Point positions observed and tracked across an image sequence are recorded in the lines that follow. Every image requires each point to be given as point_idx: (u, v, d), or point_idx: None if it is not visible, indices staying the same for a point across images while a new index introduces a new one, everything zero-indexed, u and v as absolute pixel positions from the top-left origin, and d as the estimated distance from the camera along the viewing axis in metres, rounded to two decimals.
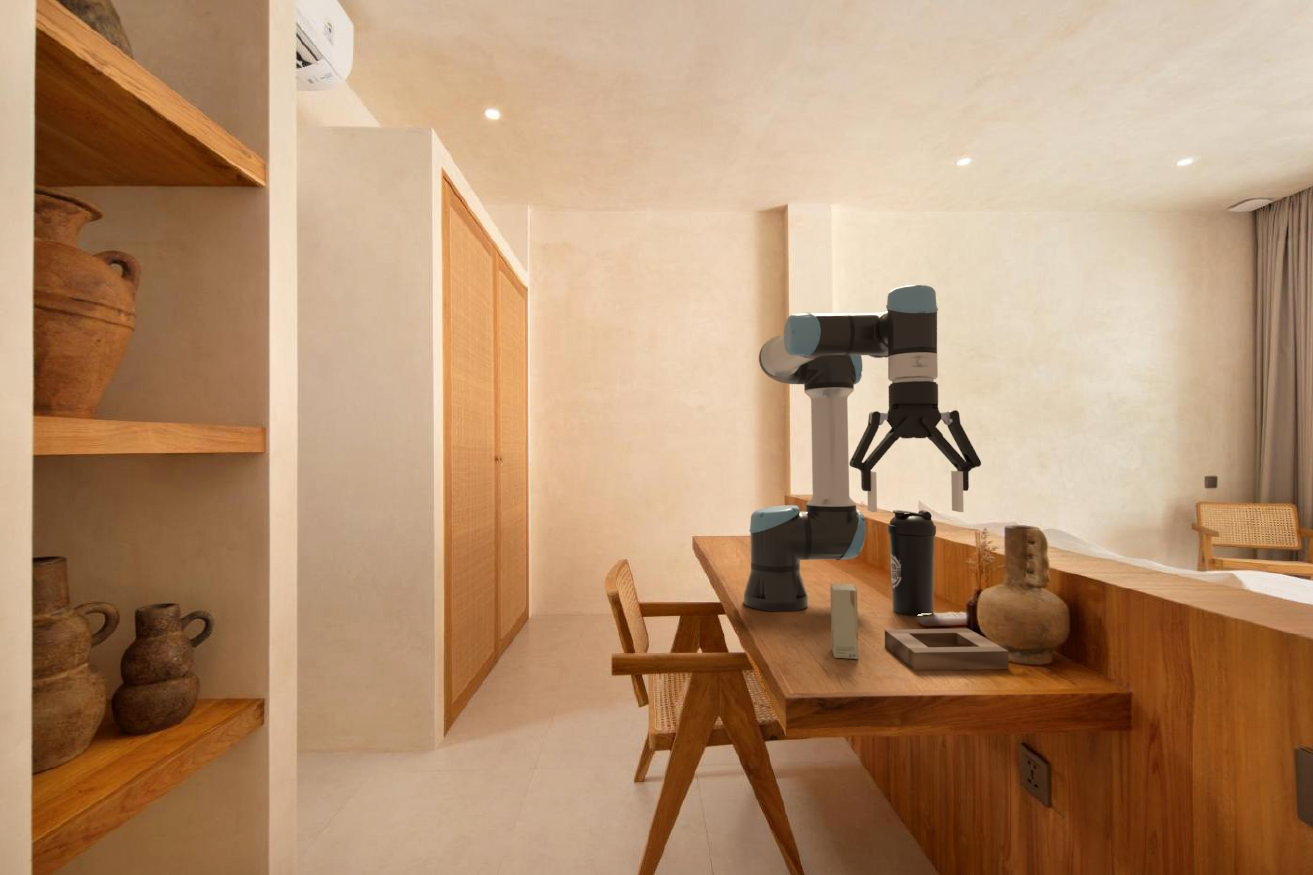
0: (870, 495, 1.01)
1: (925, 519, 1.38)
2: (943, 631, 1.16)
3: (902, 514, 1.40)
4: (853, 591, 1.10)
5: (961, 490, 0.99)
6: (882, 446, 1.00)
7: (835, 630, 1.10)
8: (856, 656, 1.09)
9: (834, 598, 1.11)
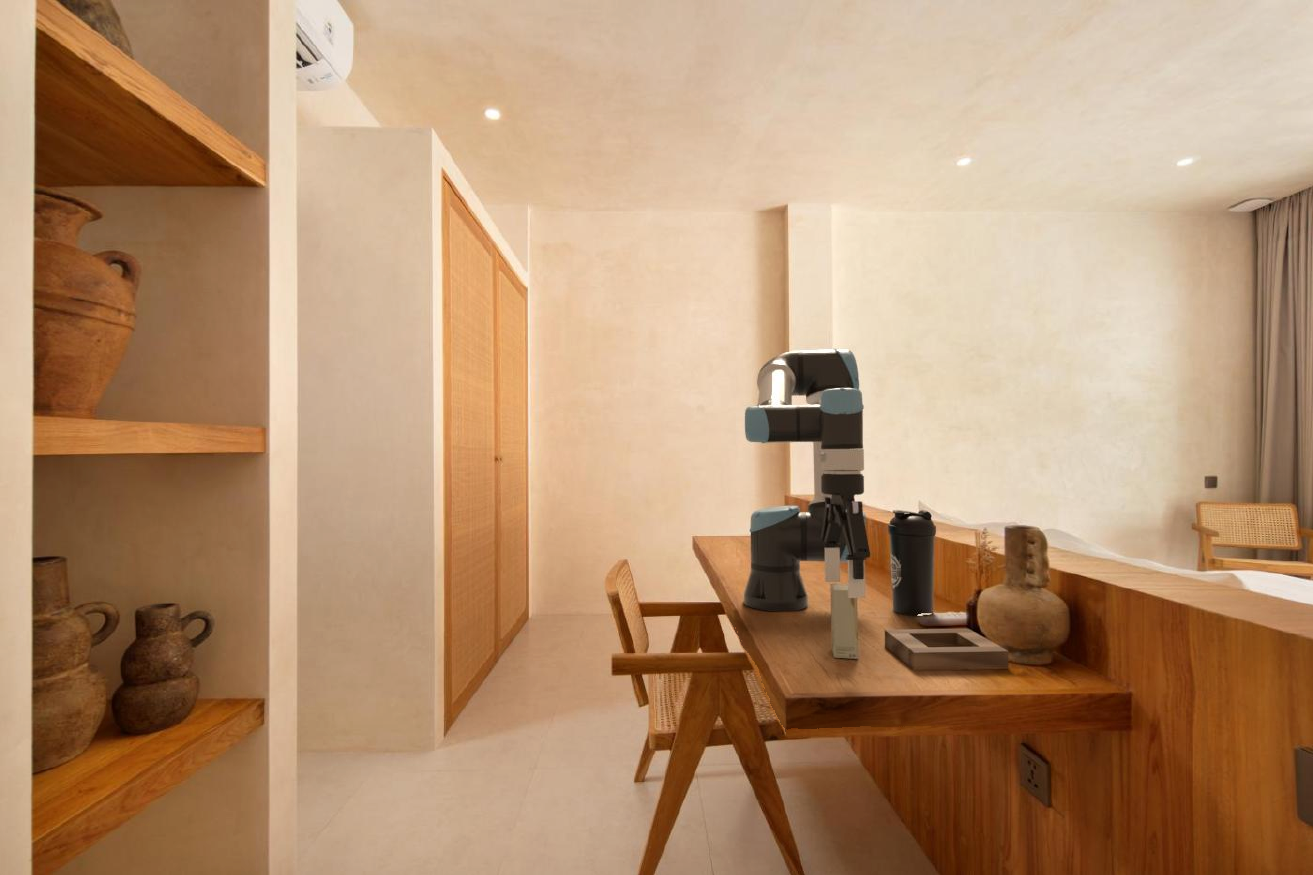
0: None
1: (925, 519, 1.38)
2: (943, 631, 1.16)
3: (902, 514, 1.40)
4: None
5: (848, 577, 1.06)
6: (828, 527, 1.18)
7: (835, 630, 1.10)
8: (856, 656, 1.09)
9: (834, 598, 1.11)
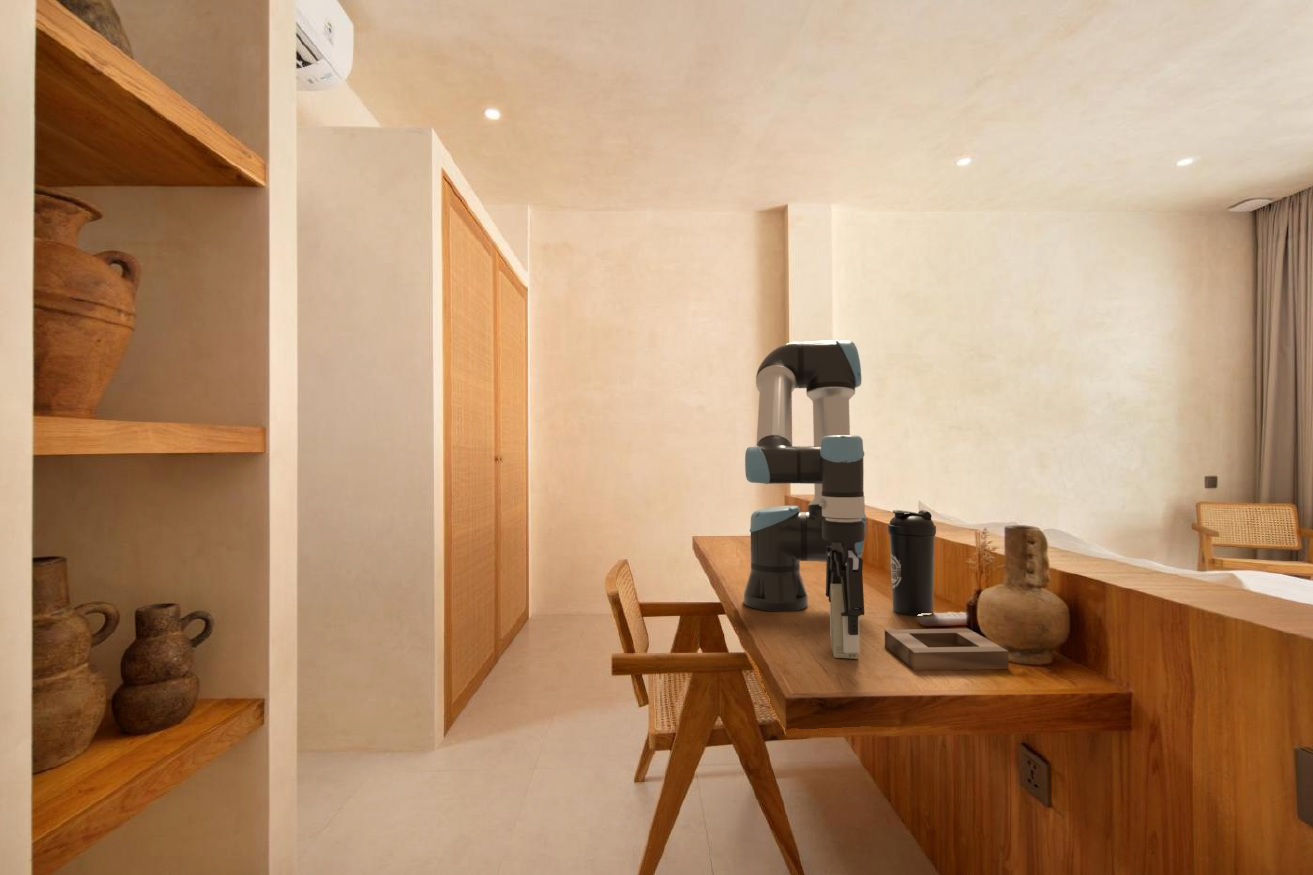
0: None
1: (925, 519, 1.38)
2: (943, 631, 1.16)
3: (902, 514, 1.40)
4: None
5: (843, 632, 1.09)
6: (831, 579, 1.17)
7: (835, 630, 1.10)
8: (856, 656, 1.09)
9: (834, 598, 1.11)
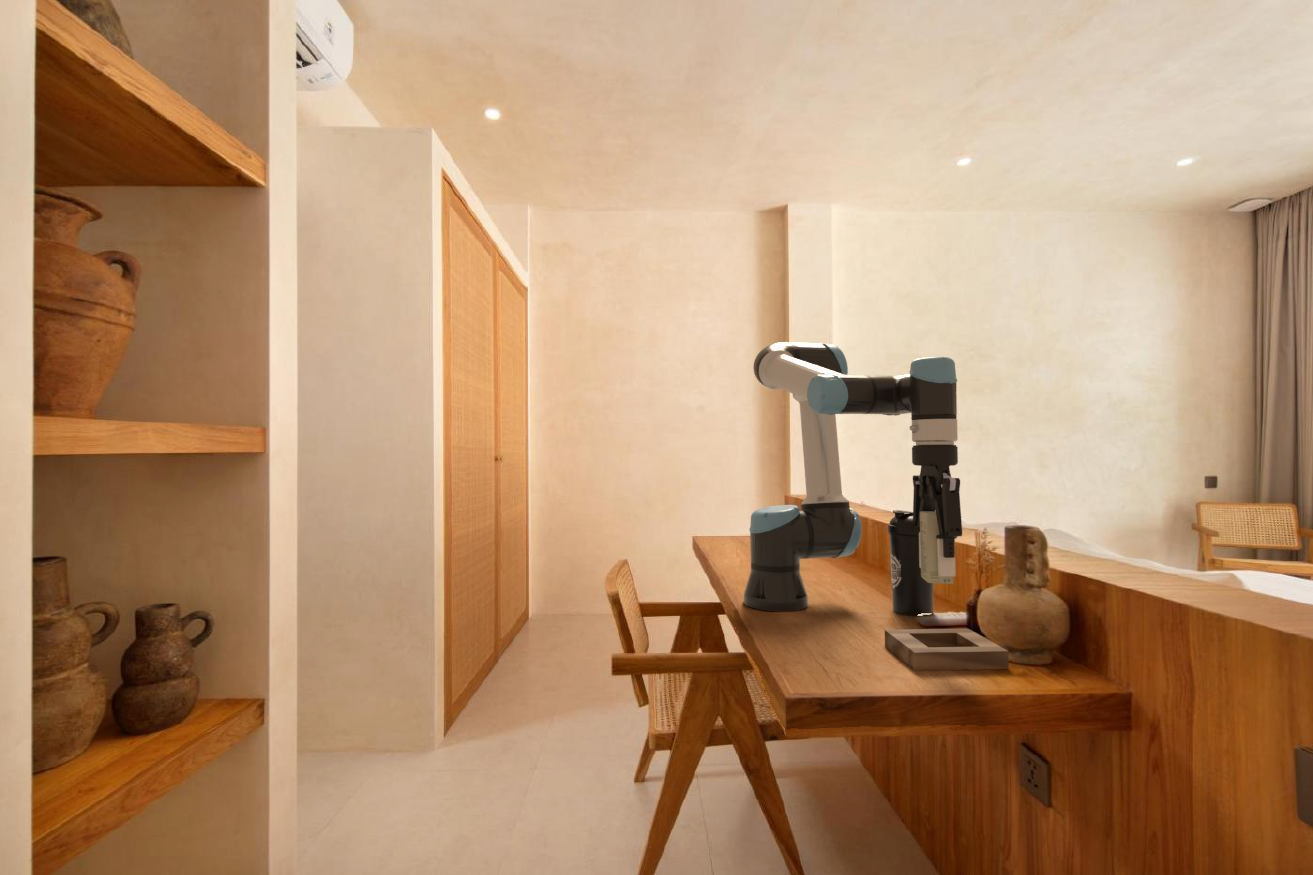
0: None
1: None
2: (943, 631, 1.16)
3: (902, 514, 1.40)
4: None
5: (938, 556, 1.07)
6: (920, 507, 1.15)
7: (929, 555, 1.08)
8: (951, 581, 1.07)
9: (928, 523, 1.08)
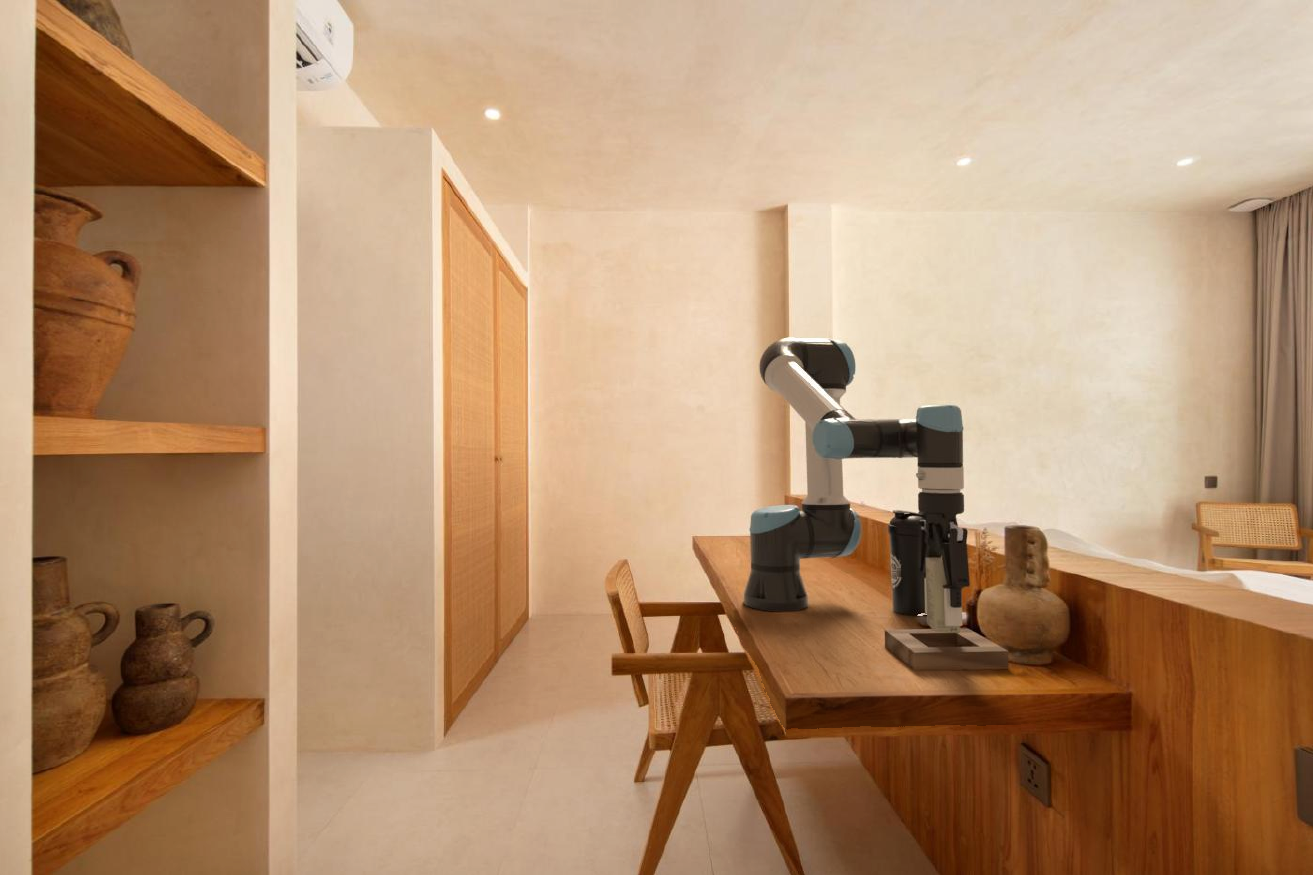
0: None
1: (925, 519, 1.38)
2: None
3: (902, 514, 1.40)
4: None
5: (945, 605, 1.07)
6: (926, 553, 1.15)
7: (936, 604, 1.08)
8: (958, 630, 1.07)
9: (935, 571, 1.08)
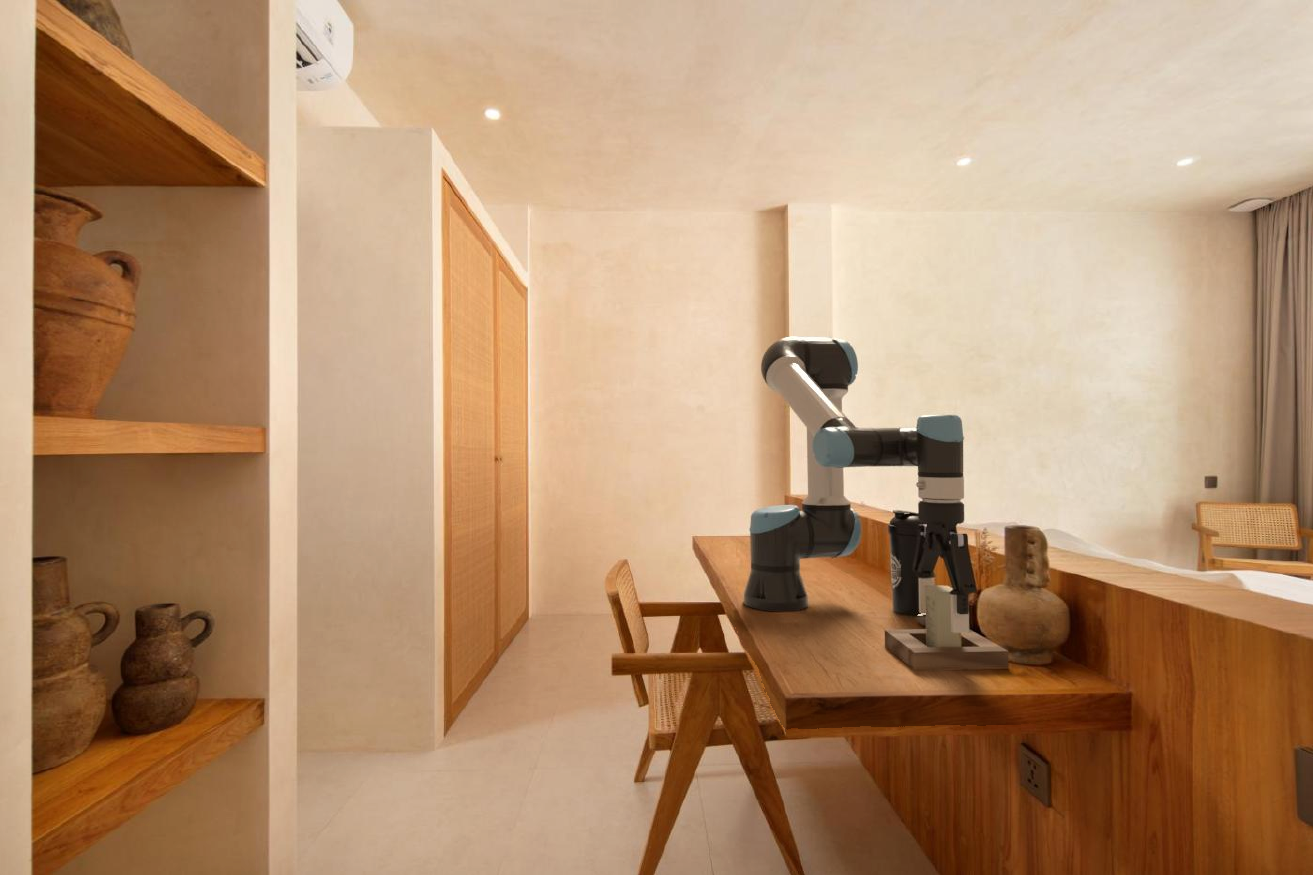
0: None
1: None
2: None
3: (902, 514, 1.40)
4: None
5: (952, 611, 1.05)
6: (922, 556, 1.16)
7: (938, 633, 1.08)
8: None
9: (937, 600, 1.08)
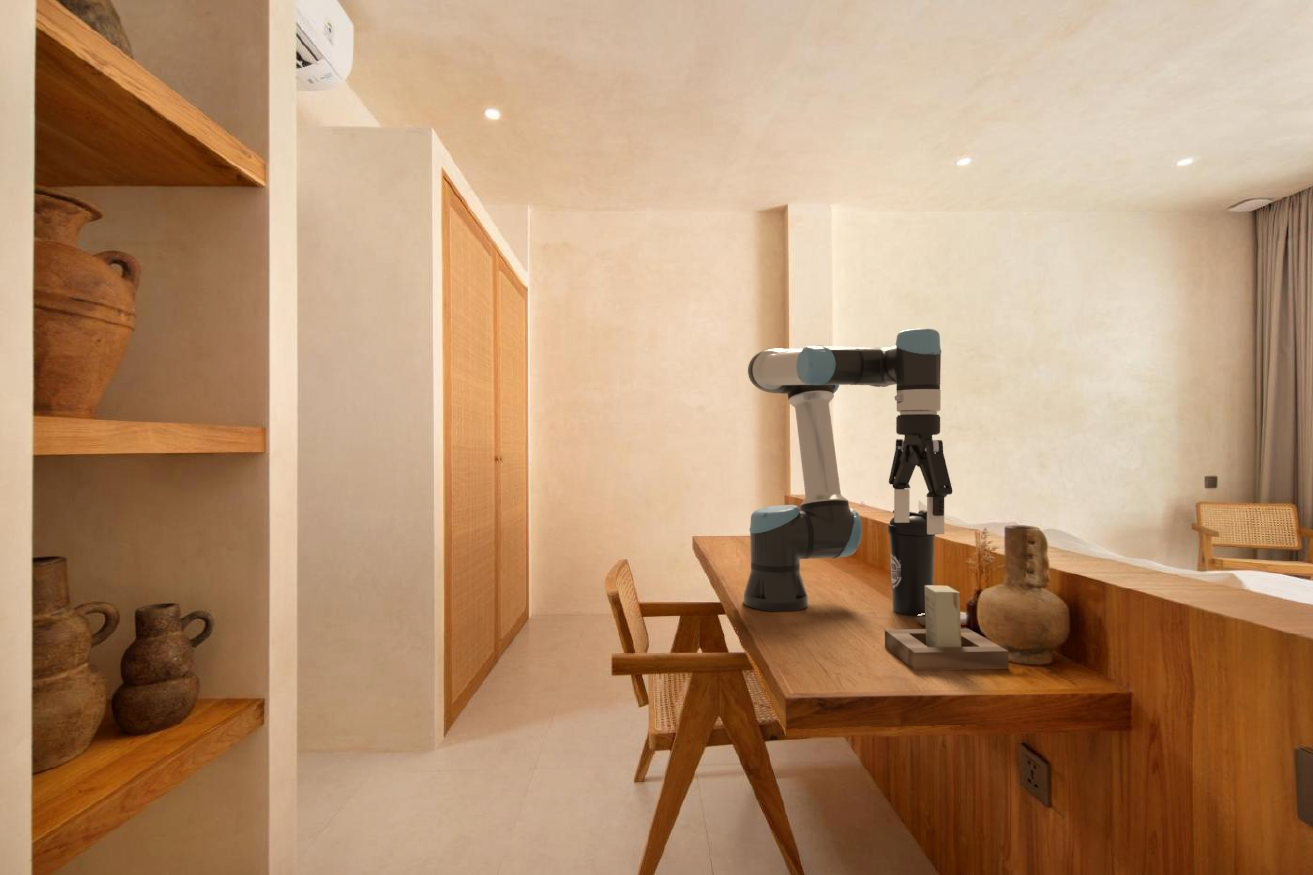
0: None
1: (925, 519, 1.38)
2: None
3: None
4: (956, 593, 1.08)
5: (928, 514, 1.08)
6: (899, 468, 1.20)
7: (938, 633, 1.08)
8: None
9: (936, 600, 1.08)
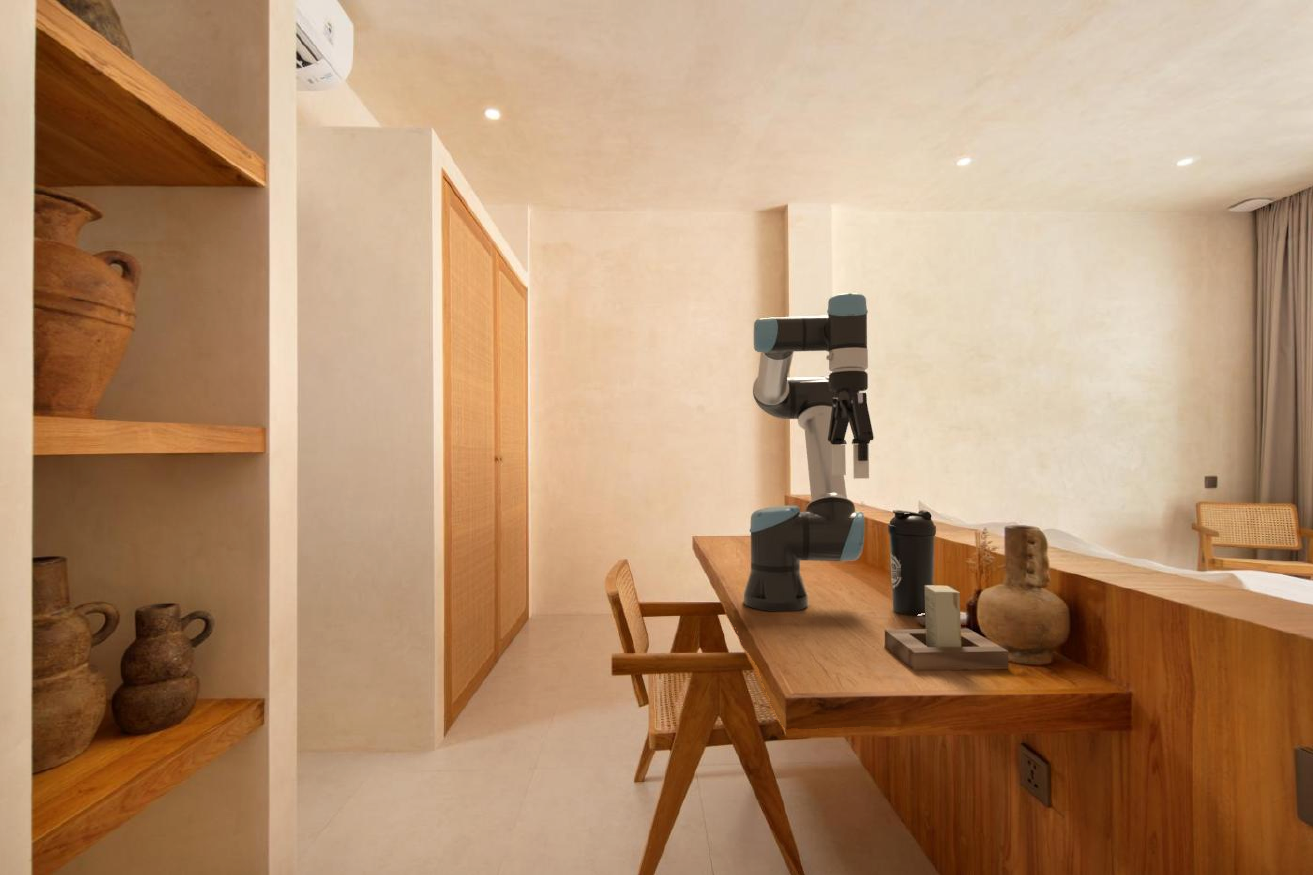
0: None
1: (925, 519, 1.38)
2: None
3: (902, 514, 1.40)
4: (956, 593, 1.08)
5: (854, 460, 1.18)
6: (834, 424, 1.30)
7: (938, 633, 1.08)
8: None
9: (936, 600, 1.08)
